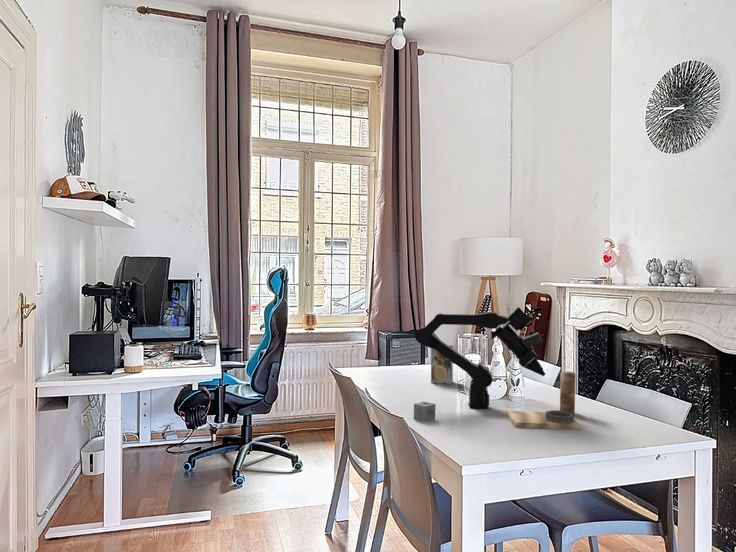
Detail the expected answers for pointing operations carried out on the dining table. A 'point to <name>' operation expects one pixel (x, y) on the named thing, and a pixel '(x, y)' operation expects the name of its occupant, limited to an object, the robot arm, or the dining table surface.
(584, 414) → the dining table surface
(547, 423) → the oak socket board
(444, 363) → the coffee box
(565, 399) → the walnut post
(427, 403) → the dice cube
